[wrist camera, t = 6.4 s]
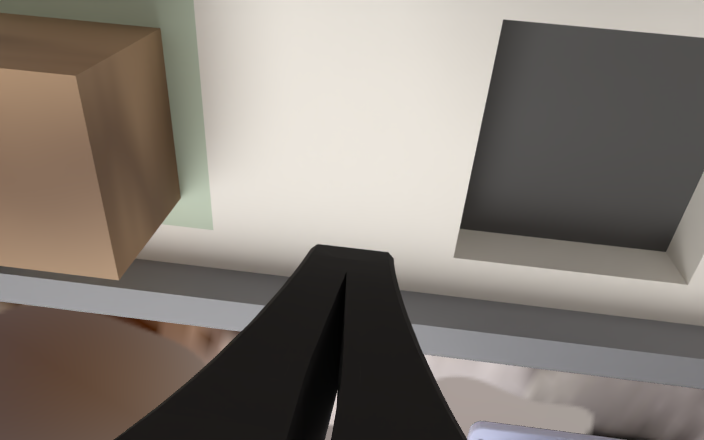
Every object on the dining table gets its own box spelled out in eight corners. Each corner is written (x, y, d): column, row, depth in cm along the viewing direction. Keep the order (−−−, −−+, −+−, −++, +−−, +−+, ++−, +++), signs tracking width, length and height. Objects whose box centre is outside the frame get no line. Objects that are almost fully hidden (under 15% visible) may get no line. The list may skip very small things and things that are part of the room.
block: (181, 198, 16) (119, 280, 13) (22, 180, 17) (-79, 256, 13) (160, 28, 14) (75, 75, 10) (-29, 9, 14) (-172, 50, 10)
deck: (668, 329, 20) (720, 422, 16) (34, 253, 21) (-40, 325, 17) (908, -128, 12) (1098, -133, 9) (-108, -203, 13) (-287, -233, 10)
